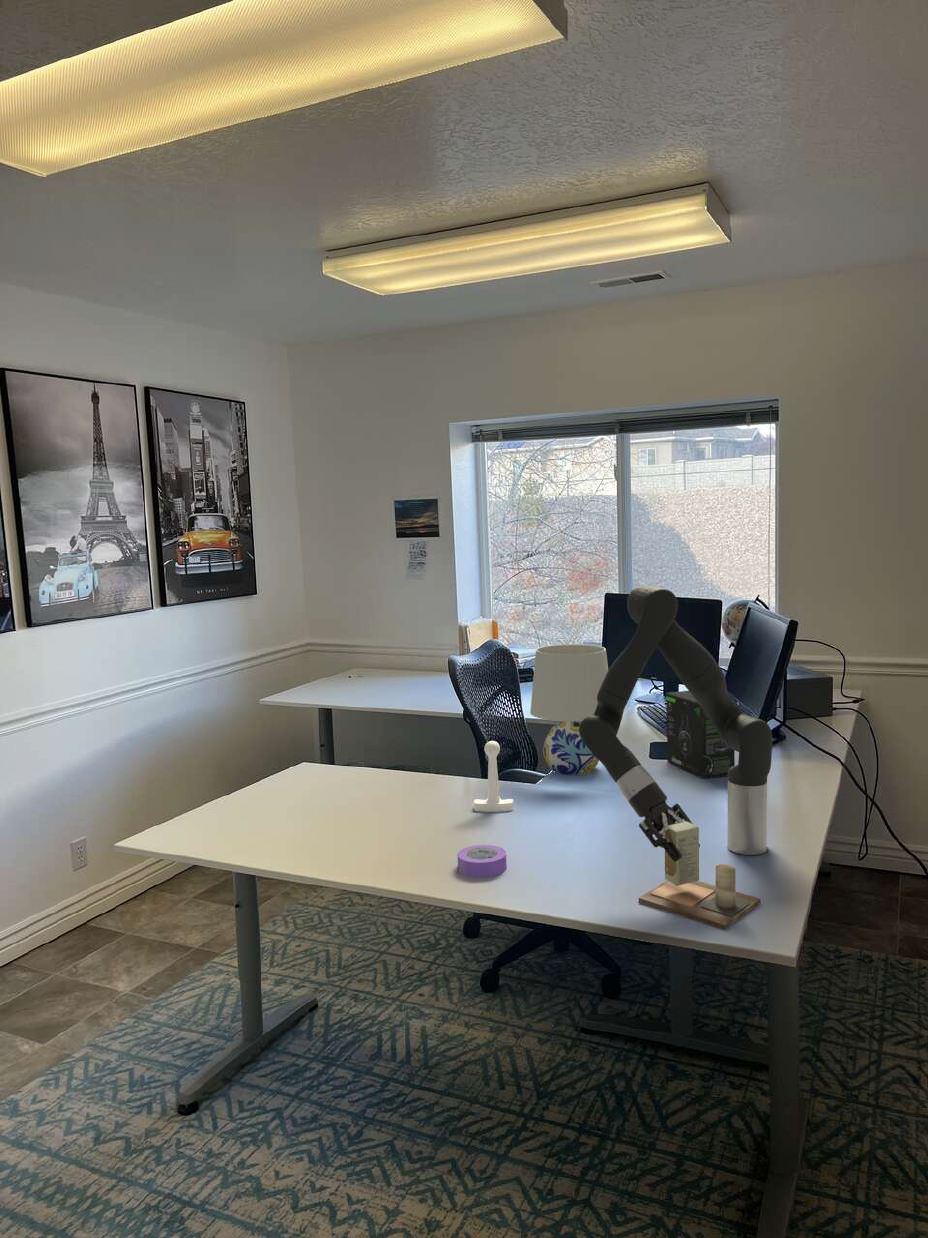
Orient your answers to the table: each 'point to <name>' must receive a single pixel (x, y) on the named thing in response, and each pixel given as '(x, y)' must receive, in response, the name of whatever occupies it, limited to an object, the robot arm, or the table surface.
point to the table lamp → (567, 701)
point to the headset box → (695, 738)
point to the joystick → (493, 785)
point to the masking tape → (482, 861)
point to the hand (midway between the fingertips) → (687, 854)
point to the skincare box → (683, 854)
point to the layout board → (704, 899)
